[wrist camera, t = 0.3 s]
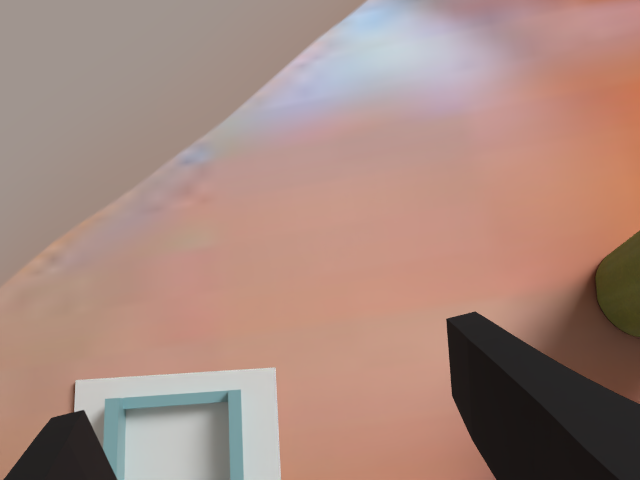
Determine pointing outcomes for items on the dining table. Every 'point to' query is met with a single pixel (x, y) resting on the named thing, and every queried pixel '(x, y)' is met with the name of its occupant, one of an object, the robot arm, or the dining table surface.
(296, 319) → the dining table surface
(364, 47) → the dining table surface
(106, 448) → the port
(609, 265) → the plant pot
